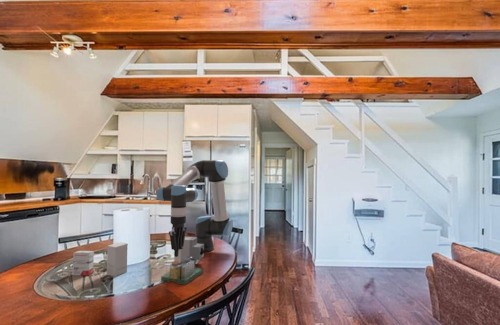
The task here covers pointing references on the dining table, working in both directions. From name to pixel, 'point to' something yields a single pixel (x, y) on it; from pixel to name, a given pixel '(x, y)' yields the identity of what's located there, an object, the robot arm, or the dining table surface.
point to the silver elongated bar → (182, 261)
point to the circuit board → (182, 273)
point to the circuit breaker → (192, 249)
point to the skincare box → (117, 259)
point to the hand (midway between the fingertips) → (177, 262)
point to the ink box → (83, 263)
